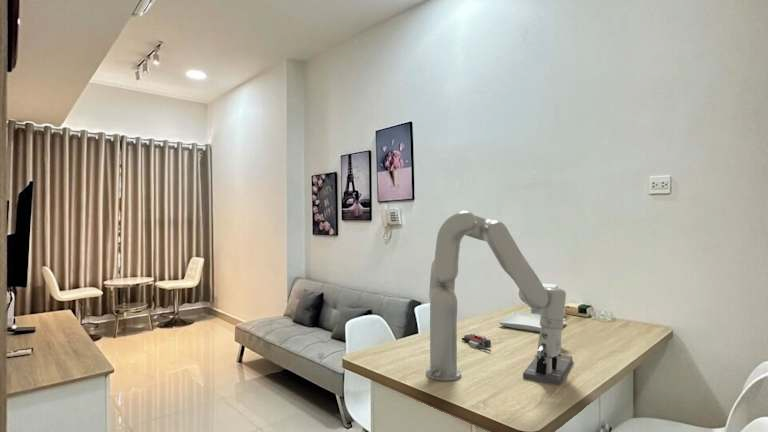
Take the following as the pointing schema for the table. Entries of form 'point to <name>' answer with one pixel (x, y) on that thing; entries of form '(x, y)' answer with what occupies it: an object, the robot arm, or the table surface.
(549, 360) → the fader knob
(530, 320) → the square plate
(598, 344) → the table surface
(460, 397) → the table surface
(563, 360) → the slider console
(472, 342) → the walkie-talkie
